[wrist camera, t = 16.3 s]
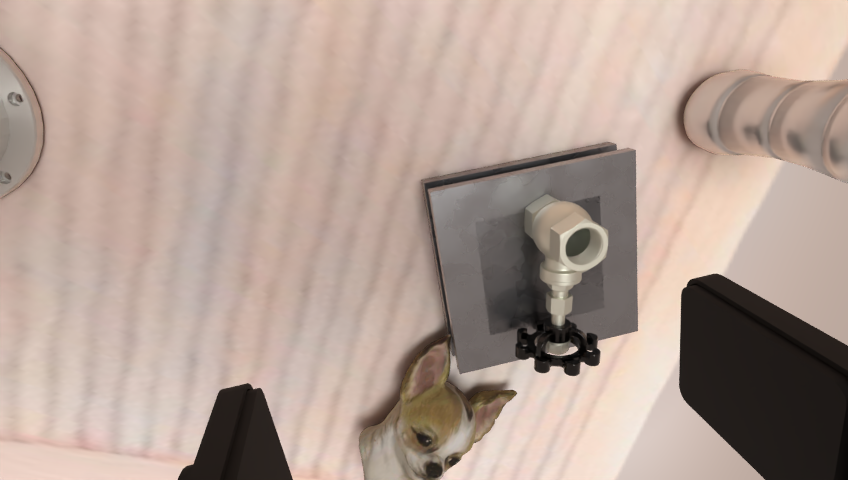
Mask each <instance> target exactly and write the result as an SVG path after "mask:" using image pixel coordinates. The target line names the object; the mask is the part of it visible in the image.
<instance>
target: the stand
mask: <svg viewBox="0 0 848 480" xmlns="http://www.w3.org/2000/svg"><path fill="white" fill-rule="evenodd" d="M421 181H422V187H423V193H424V199H425V205H426V210H427V216H428V222H429V228H430V234H431V240H432V246H433V252H434V257H435V263H436V269H437V275H438V281H439V287H440V293H441V299H442V304H443V310H444V316H445V322H446V328H447V334H448V335H449V334H450V335H451V341H450V350H451V352H452V355H453V356H454V355H455V356H456V362H457V367H458V370H459V372H460V374H462V373H467V372H471V371H475V370H479V369H483V368H487V367H491V366H495V365H499V364H504V363H508V362H512V361H516V360H520V359H518V358H516V356H515V344H516V343H517V330H518V329H519V328H527V333H528V334H530V335H531V334H533V333H534V332H536V323H537V321H540V320H545V319H546V318H549V317H551V316H552V314H551V313H549V312H548V311H547V309H546V293H547V292H549V291H551V290H552V289H550V288H549V287H548V285H547V283H545V282H543V281H542V280H541V279H540V264H541V262H543V261H544V260H545V255H544V254H543V253H542V252H541V251H540V250H539V249H538V247H537V246H536V244H535V242H534V239H532V238H531V237H530V236H529V235H528V234H526V233H525V229H524V216H525V208H526V207H527V206H528V205H530V204H531V203H532V202H534V201H535V200H537V199H539V198H540V197H542V196H544V195H546V194H548V195H550V196H552V197H554V198H556V199H557V200H559V201H567V202H572V203H575V204H577V205H579V206H580V207H582V208H583V209H584V210H586V211H587V213H588V214H589V215H590V217H591V219H592V221H593V222H595V223H597V224H599V225H600V226H602V227H604V228H605V229H607V230H608V248H607V254H606V258H605V259H603V260H602V261H601V262H600V263H598V264H597V265H596V266H594V267H592V268H591V269H589V270H587V271H585V272H583V273H582V279H581V281H580V282H579V283H578V284H576V285H573V288H571V289H570V290H568V292H569V293H570V294H571V295H572V296H573V300H572V311H571V312H570V313H569V314H567V315H565V318H566V319H568V320H569V321H570V322H572V323H575V324H576V325H577V329H579V330H581V331H582V332H583V333H584V334H585V335H586V336H587V333H593V334H596V335H597V336H598V340H602V339H607V338H611V337H615V336H619V335H623V334H627V333H631V332H635V331H638V306H637V225H636V150H634V149H630V148H626V149H621V150H617V147H616V144H614V143H611V142H607V143H602V144H597V145H592V146H587V147H582V148H577V149H572V150H567V151H562V152H557V153H552V154H547V155H542V156H538V157H533V158H528V159H523V160H518V161H513V162H508V163H503V164H498V165H493V166H488V167H483V168H478V169H473V170H469V171H464V172H459V173H454V174H449V175H444V176H439V177H434V178H429V179H424V180H421ZM523 346H527V345H523ZM535 346H537V343H536V344H535ZM574 346H575V345H574V344H572V343H569V347H574ZM545 353H549V352H548V351H547V350H545Z"/></svg>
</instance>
